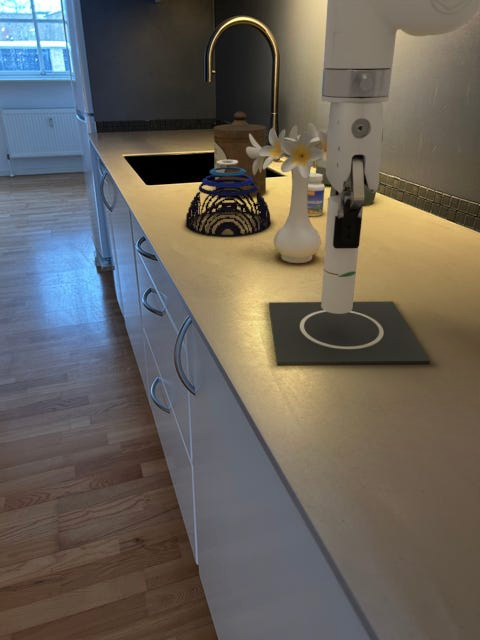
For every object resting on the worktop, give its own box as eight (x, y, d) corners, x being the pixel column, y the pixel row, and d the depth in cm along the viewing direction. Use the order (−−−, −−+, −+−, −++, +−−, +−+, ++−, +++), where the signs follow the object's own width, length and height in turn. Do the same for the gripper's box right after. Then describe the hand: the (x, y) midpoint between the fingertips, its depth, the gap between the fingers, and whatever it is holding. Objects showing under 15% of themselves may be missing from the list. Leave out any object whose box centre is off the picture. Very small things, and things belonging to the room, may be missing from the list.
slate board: (392, 304, 83) (392, 300, 82) (429, 363, 67) (430, 359, 66) (268, 305, 83) (269, 301, 82) (276, 365, 67) (277, 360, 66)
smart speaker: (311, 181, 162) (313, 135, 156) (338, 180, 164) (342, 134, 157) (320, 188, 154) (324, 139, 148) (349, 186, 156) (354, 138, 149)
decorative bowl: (273, 236, 114) (275, 170, 107) (183, 236, 114) (179, 170, 107) (268, 211, 131) (269, 153, 125) (190, 212, 131) (187, 154, 125)
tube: (318, 311, 70) (325, 202, 63) (323, 298, 73) (330, 194, 66) (350, 315, 68) (361, 204, 61) (354, 302, 72) (364, 195, 65)
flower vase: (250, 246, 108) (250, 120, 97) (338, 249, 106) (350, 120, 94) (242, 268, 97) (242, 129, 85) (341, 273, 94) (354, 130, 83)
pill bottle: (302, 216, 127) (304, 177, 123) (299, 210, 132) (301, 172, 128) (324, 216, 127) (327, 176, 123) (320, 210, 132) (323, 172, 128)
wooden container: (217, 186, 157) (215, 109, 147) (265, 186, 156) (266, 109, 146) (213, 198, 144) (210, 114, 134) (265, 198, 143) (267, 114, 133)
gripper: (410, 91, 50) (387, 264, 59) (371, 82, 65) (357, 222, 74) (335, 92, 50) (322, 265, 59) (313, 83, 65) (305, 222, 74)
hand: (342, 239), depth 66 cm, fingers closed on tube, 4 cm apart
